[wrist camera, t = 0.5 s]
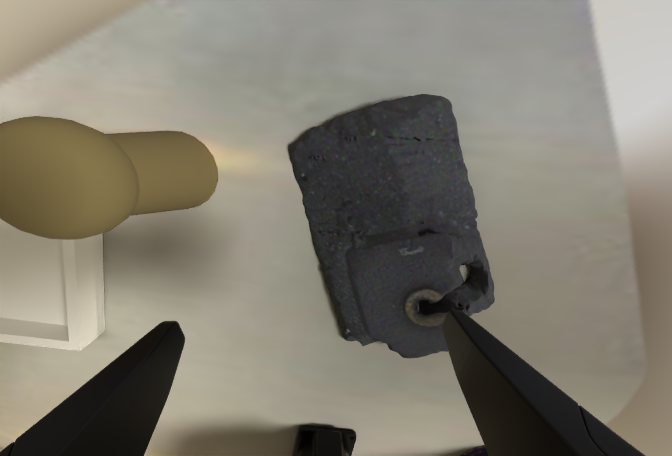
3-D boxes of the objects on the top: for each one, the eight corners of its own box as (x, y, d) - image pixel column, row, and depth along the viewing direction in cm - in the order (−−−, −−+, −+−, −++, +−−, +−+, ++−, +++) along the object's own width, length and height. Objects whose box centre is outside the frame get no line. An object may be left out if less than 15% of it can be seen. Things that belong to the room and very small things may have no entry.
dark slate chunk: (460, 81, 20) (502, 58, 16) (489, 311, 26) (526, 344, 22) (276, 135, 20) (264, 128, 16) (347, 352, 26) (353, 393, 22)
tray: (105, 331, 23) (80, 350, 21) (-27, 314, 22) (-70, 334, 20) (102, 220, 21) (73, 228, 18) (-48, 195, 19) (-100, 200, 17)
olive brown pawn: (222, 141, 20) (109, 121, 9) (213, 215, 21) (107, 272, 11) (139, 121, 19) (-89, 74, 8) (136, 199, 20) (-61, 243, 10)
